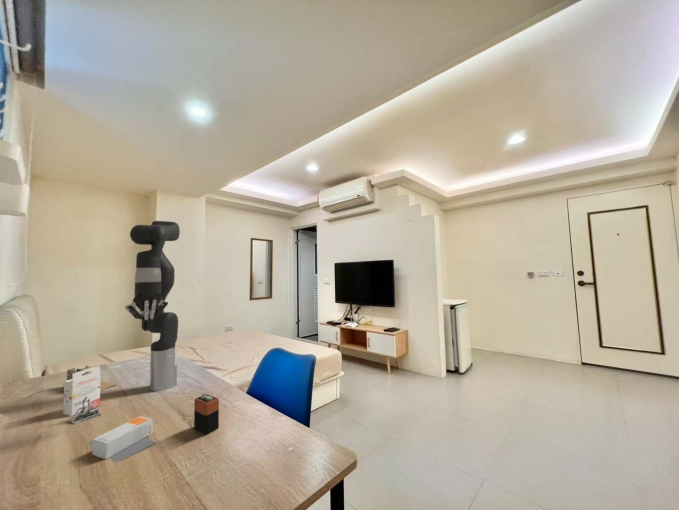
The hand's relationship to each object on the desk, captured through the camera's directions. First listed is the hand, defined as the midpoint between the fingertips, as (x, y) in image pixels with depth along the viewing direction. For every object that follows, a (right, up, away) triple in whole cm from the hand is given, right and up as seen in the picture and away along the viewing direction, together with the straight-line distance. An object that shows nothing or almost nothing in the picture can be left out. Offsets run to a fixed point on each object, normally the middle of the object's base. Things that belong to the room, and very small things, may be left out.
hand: (147, 330), depth 92 cm
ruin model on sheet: (-48, -33, +24) cm, 63 cm away
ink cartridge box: (-26, -30, +3) cm, 40 cm away
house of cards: (-20, -30, -1) cm, 36 cm away
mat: (+4, -28, -19) cm, 34 cm away
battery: (+26, -28, -10) cm, 39 cm away
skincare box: (+8, -25, -11) cm, 29 cm away
